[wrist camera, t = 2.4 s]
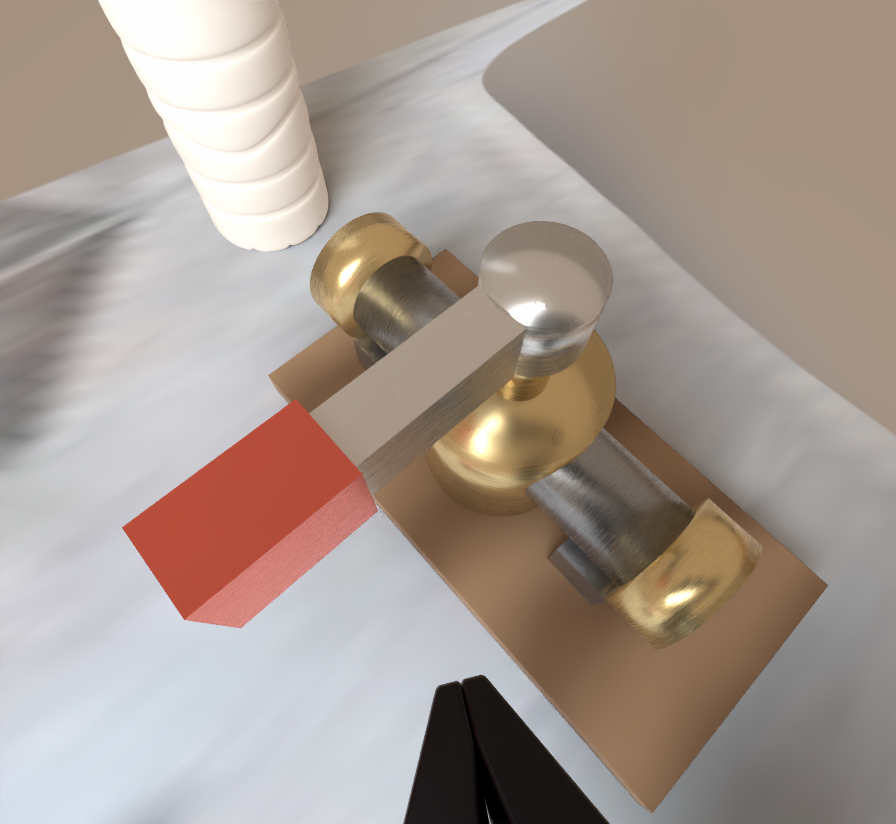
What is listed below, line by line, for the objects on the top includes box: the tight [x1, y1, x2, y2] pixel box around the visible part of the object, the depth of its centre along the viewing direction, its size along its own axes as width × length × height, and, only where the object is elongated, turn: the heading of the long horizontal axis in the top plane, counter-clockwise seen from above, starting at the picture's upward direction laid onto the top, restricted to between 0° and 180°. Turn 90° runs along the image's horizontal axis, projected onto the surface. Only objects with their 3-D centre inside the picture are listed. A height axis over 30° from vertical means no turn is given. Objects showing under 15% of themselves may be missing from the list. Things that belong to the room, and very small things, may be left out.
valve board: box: [268, 249, 828, 813], centre depth 24 cm, size 22×11×2 cm, turn 42°
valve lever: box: [122, 221, 612, 628], centre depth 13 cm, size 12×3×3 cm, turn 132°
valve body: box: [310, 213, 762, 649], centre depth 20 cm, size 18×6×9 cm, turn 42°
